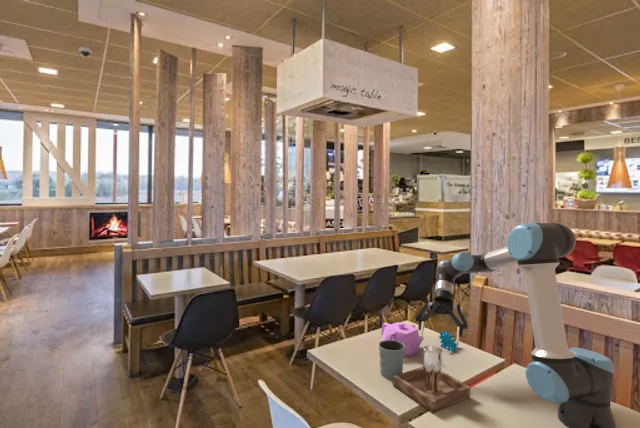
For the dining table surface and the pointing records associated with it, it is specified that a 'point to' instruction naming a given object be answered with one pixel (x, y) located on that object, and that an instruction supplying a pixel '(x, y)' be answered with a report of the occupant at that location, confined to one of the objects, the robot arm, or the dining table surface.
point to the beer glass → (432, 368)
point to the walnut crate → (413, 388)
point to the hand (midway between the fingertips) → (438, 340)
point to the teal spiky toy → (448, 341)
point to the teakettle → (403, 336)
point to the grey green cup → (391, 358)
